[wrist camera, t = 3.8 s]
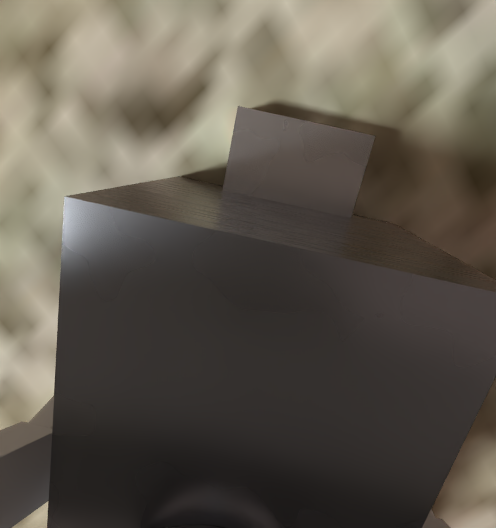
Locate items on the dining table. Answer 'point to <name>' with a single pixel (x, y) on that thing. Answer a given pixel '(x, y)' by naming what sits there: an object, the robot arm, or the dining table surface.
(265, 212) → the slider plate with knob
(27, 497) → the robot arm
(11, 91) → the dining table surface
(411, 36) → the dining table surface
